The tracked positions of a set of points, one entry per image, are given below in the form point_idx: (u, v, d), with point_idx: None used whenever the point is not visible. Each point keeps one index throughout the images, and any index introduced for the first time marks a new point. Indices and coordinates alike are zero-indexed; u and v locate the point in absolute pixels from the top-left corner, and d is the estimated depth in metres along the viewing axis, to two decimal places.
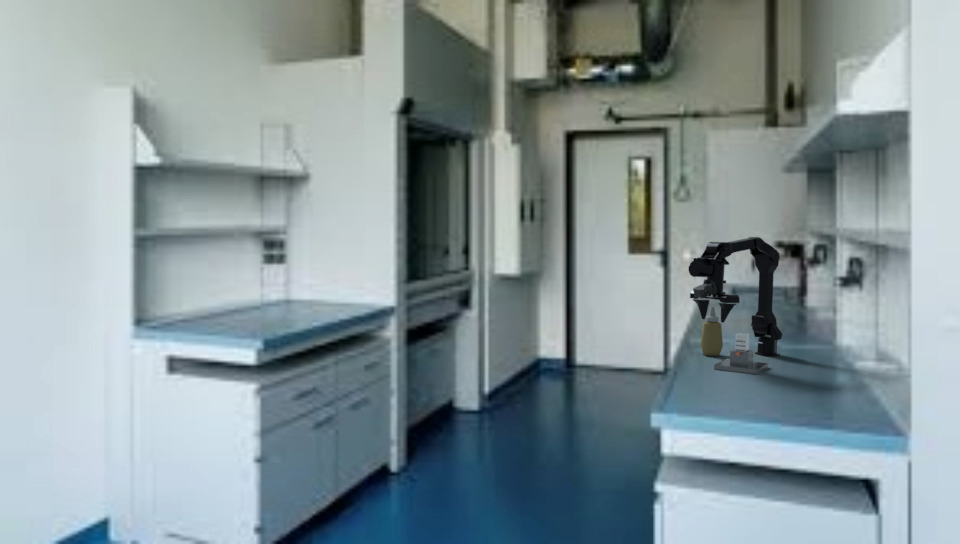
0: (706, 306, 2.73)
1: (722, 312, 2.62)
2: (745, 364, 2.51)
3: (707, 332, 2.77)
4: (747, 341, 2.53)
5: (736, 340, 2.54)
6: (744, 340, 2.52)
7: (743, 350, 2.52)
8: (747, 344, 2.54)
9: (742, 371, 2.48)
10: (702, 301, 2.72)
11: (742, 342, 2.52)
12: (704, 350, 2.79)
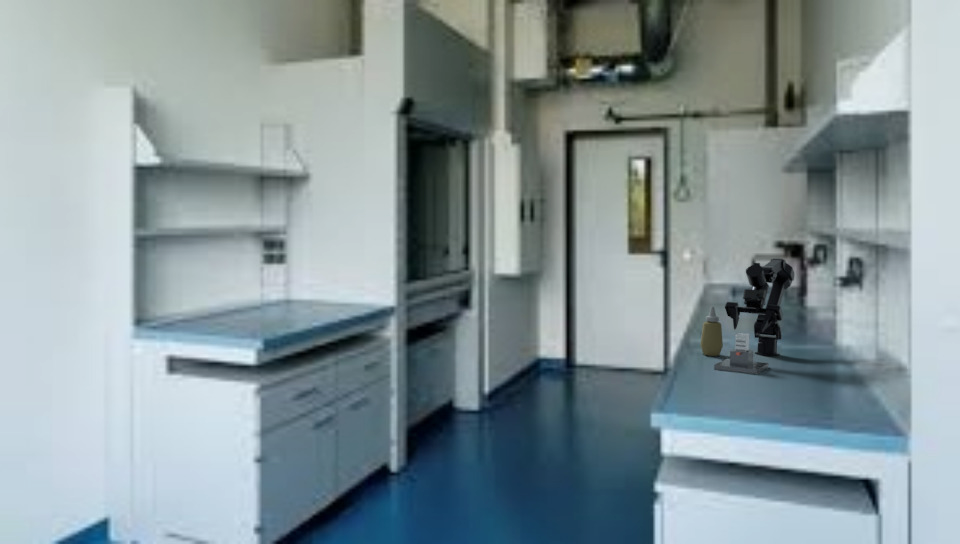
0: (737, 320, 2.67)
1: (765, 320, 2.58)
2: (745, 364, 2.51)
3: (707, 332, 2.77)
4: (747, 341, 2.53)
5: (736, 340, 2.54)
6: (744, 340, 2.52)
7: (743, 350, 2.52)
8: (747, 344, 2.54)
9: (742, 371, 2.48)
10: (737, 313, 2.66)
11: (742, 342, 2.52)
12: (704, 350, 2.79)
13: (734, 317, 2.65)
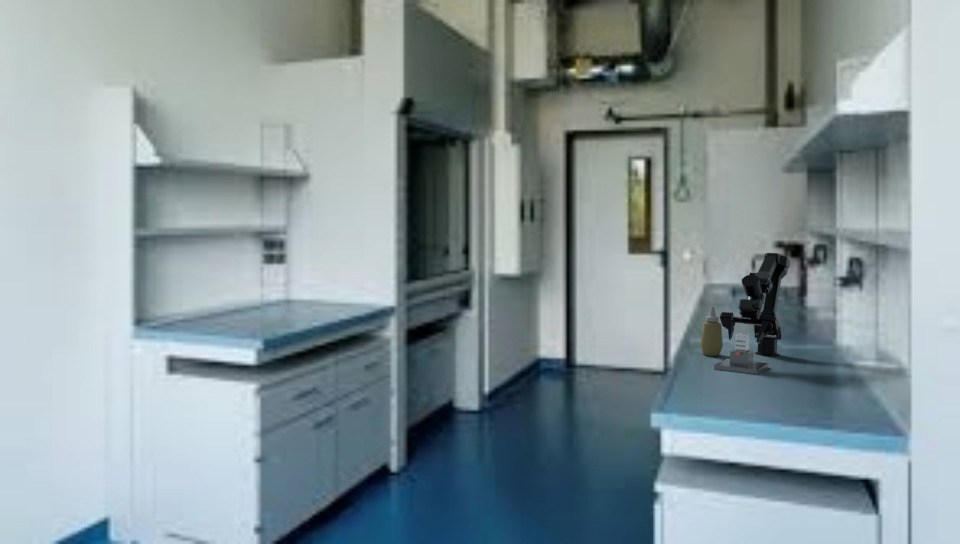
0: (732, 331, 2.61)
1: (761, 331, 2.53)
2: (745, 364, 2.51)
3: (707, 332, 2.77)
4: (747, 341, 2.53)
5: (736, 340, 2.54)
6: (744, 340, 2.52)
7: (743, 350, 2.52)
8: (747, 344, 2.54)
9: (742, 371, 2.48)
10: (732, 323, 2.61)
11: (742, 342, 2.52)
12: (704, 350, 2.79)
13: (729, 327, 2.60)
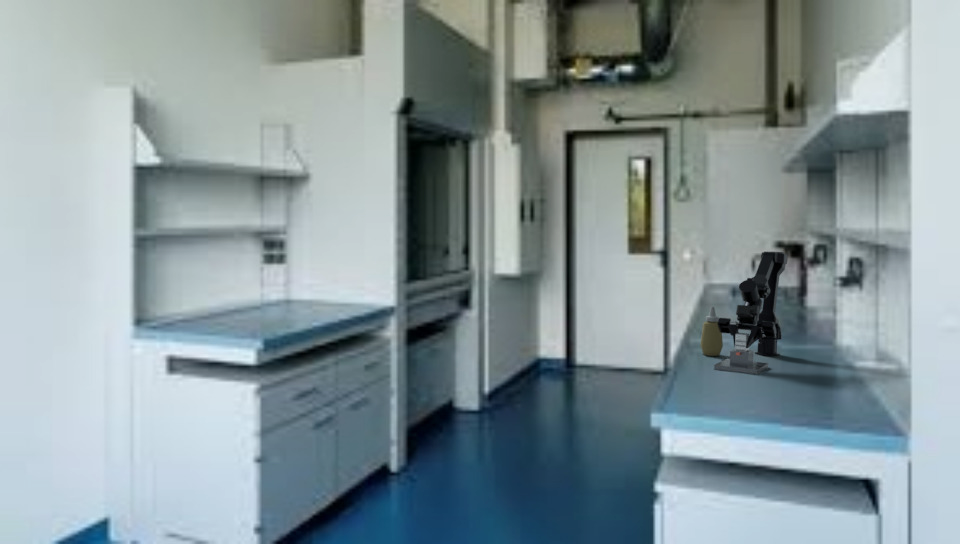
0: None
1: (751, 337, 2.53)
2: (745, 364, 2.51)
3: (707, 332, 2.77)
4: None
5: (736, 340, 2.54)
6: (744, 340, 2.52)
7: (743, 350, 2.52)
8: None
9: (742, 371, 2.48)
10: (737, 330, 2.58)
11: (742, 342, 2.52)
12: (704, 350, 2.79)
13: (734, 334, 2.56)
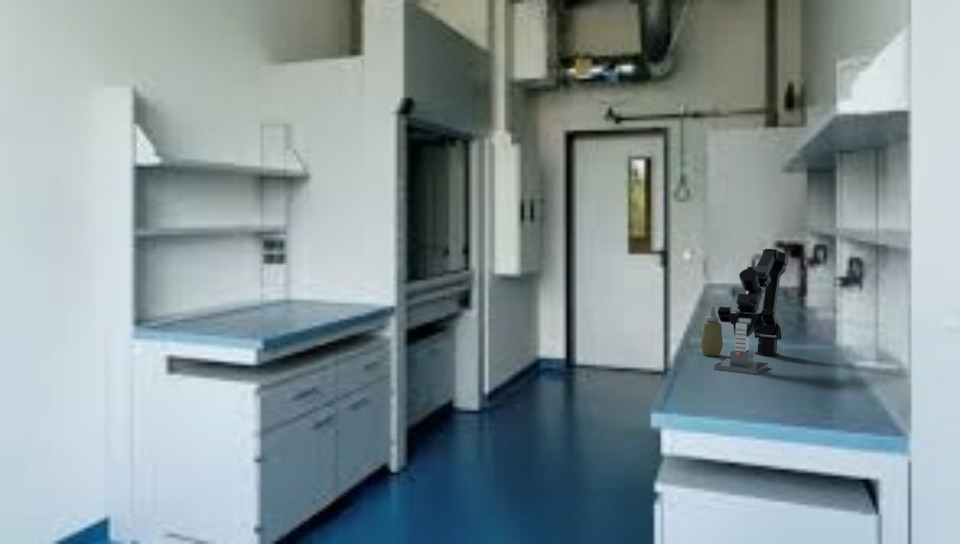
0: None
1: (751, 325, 2.53)
2: (745, 364, 2.51)
3: (707, 332, 2.77)
4: None
5: (736, 329, 2.53)
6: (744, 329, 2.52)
7: (743, 339, 2.52)
8: None
9: (742, 371, 2.48)
10: (737, 319, 2.57)
11: (742, 330, 2.52)
12: (704, 350, 2.79)
13: (735, 323, 2.56)
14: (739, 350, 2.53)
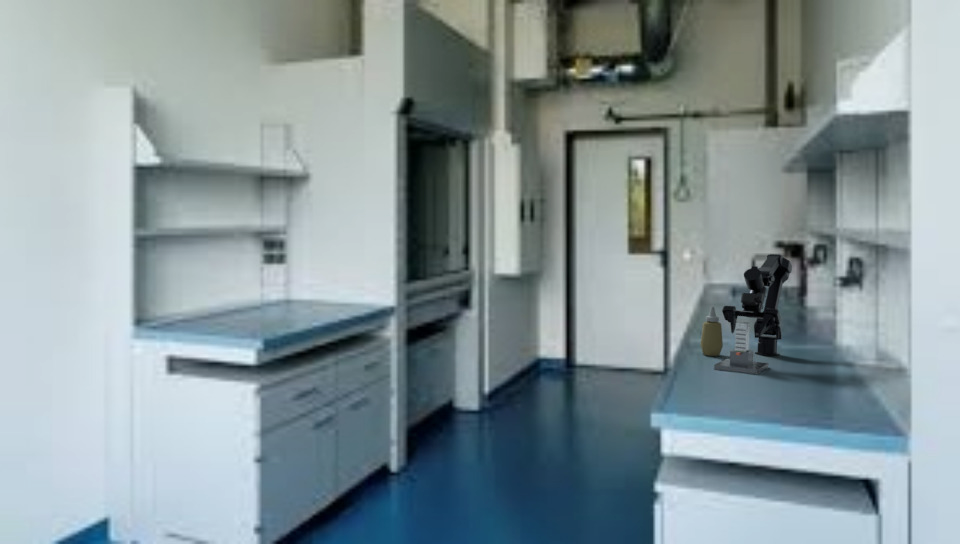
0: (735, 324, 2.63)
1: (763, 324, 2.55)
2: (745, 364, 2.51)
3: (707, 332, 2.77)
4: (747, 330, 2.53)
5: (736, 329, 2.53)
6: (744, 329, 2.52)
7: (743, 339, 2.52)
8: (748, 333, 2.53)
9: (742, 371, 2.48)
10: (734, 317, 2.63)
11: (742, 330, 2.52)
12: (704, 350, 2.79)
13: (732, 321, 2.62)
14: (739, 350, 2.53)
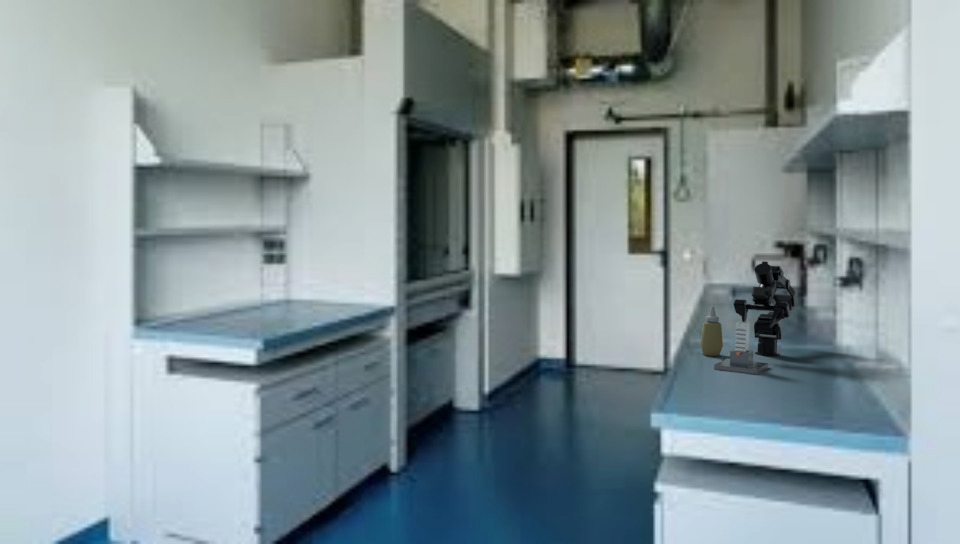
0: (746, 317, 2.74)
1: (773, 317, 2.66)
2: (745, 364, 2.51)
3: (707, 332, 2.77)
4: (747, 330, 2.53)
5: (736, 329, 2.53)
6: (744, 329, 2.52)
7: (743, 339, 2.52)
8: (748, 333, 2.53)
9: (742, 371, 2.48)
10: (745, 310, 2.74)
11: (742, 330, 2.52)
12: (704, 350, 2.79)
13: (743, 314, 2.72)
14: (739, 350, 2.53)
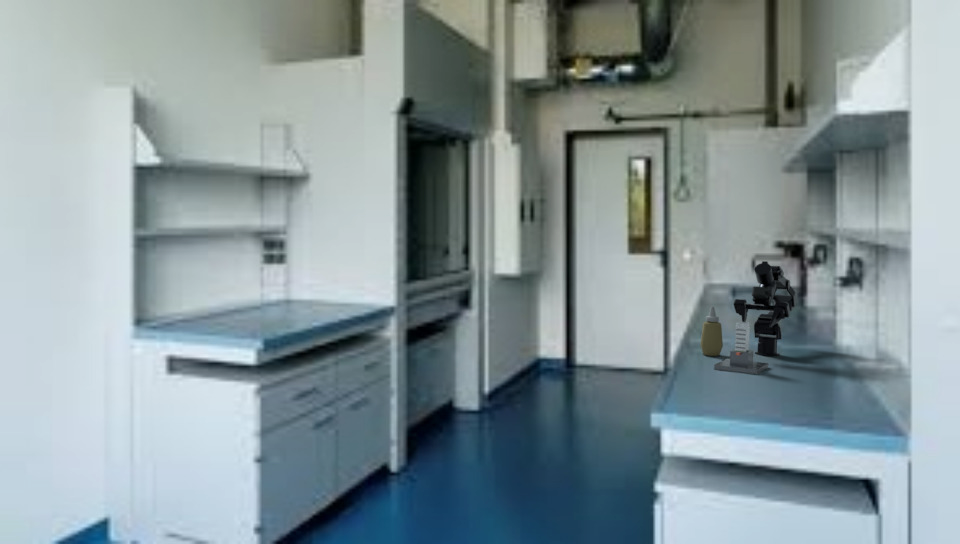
0: (746, 317, 2.74)
1: (774, 317, 2.66)
2: (745, 364, 2.51)
3: (707, 332, 2.77)
4: (747, 330, 2.53)
5: (736, 329, 2.53)
6: (744, 329, 2.52)
7: (743, 339, 2.52)
8: (748, 333, 2.53)
9: (742, 371, 2.48)
10: (745, 310, 2.74)
11: (742, 330, 2.52)
12: (704, 350, 2.79)
13: (743, 314, 2.72)
14: (739, 350, 2.53)
